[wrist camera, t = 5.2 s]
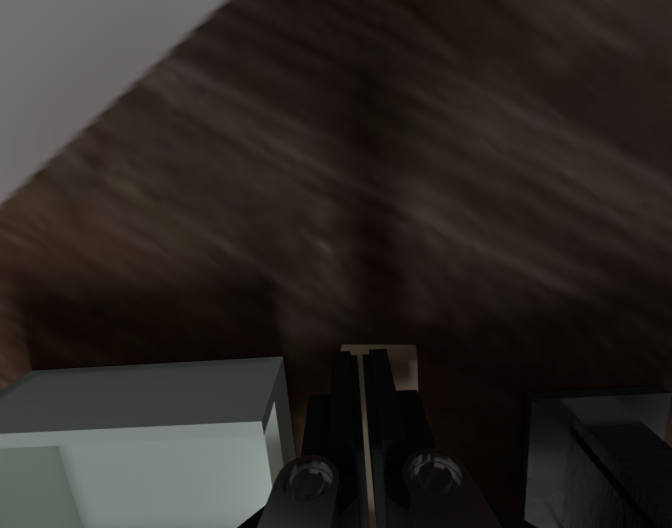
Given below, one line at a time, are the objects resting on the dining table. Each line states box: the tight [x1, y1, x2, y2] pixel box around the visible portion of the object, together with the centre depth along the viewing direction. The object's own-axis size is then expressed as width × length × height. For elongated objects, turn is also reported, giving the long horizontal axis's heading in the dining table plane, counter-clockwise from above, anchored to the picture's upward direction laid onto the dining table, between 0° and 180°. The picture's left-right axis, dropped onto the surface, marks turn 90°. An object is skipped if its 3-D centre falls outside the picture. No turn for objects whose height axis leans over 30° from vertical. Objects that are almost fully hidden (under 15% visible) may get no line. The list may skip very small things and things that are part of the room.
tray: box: [0, 357, 296, 528], centre depth 17 cm, size 14×12×4 cm
